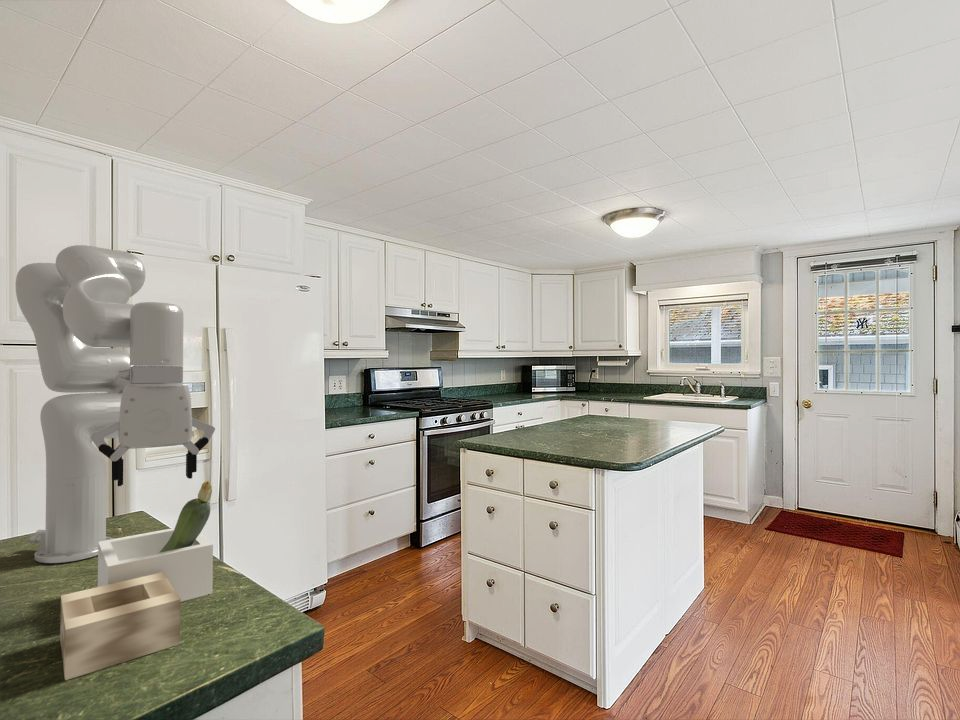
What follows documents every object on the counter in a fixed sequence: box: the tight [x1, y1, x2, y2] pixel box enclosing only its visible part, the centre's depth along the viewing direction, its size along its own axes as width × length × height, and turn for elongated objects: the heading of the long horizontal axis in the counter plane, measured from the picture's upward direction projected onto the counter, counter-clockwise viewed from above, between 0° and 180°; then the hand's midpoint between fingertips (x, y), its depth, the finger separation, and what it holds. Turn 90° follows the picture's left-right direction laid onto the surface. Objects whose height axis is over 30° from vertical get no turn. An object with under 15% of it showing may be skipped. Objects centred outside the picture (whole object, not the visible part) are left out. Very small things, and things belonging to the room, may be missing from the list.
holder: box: [59, 572, 182, 681], centre depth 69 cm, size 12×12×6 cm
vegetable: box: [159, 480, 213, 553], centre depth 84 cm, size 4×4×20 cm
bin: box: [97, 527, 214, 603], centre depth 84 cm, size 14×14×8 cm
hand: (155, 480), depth 84 cm, fingers open, 9 cm apart
